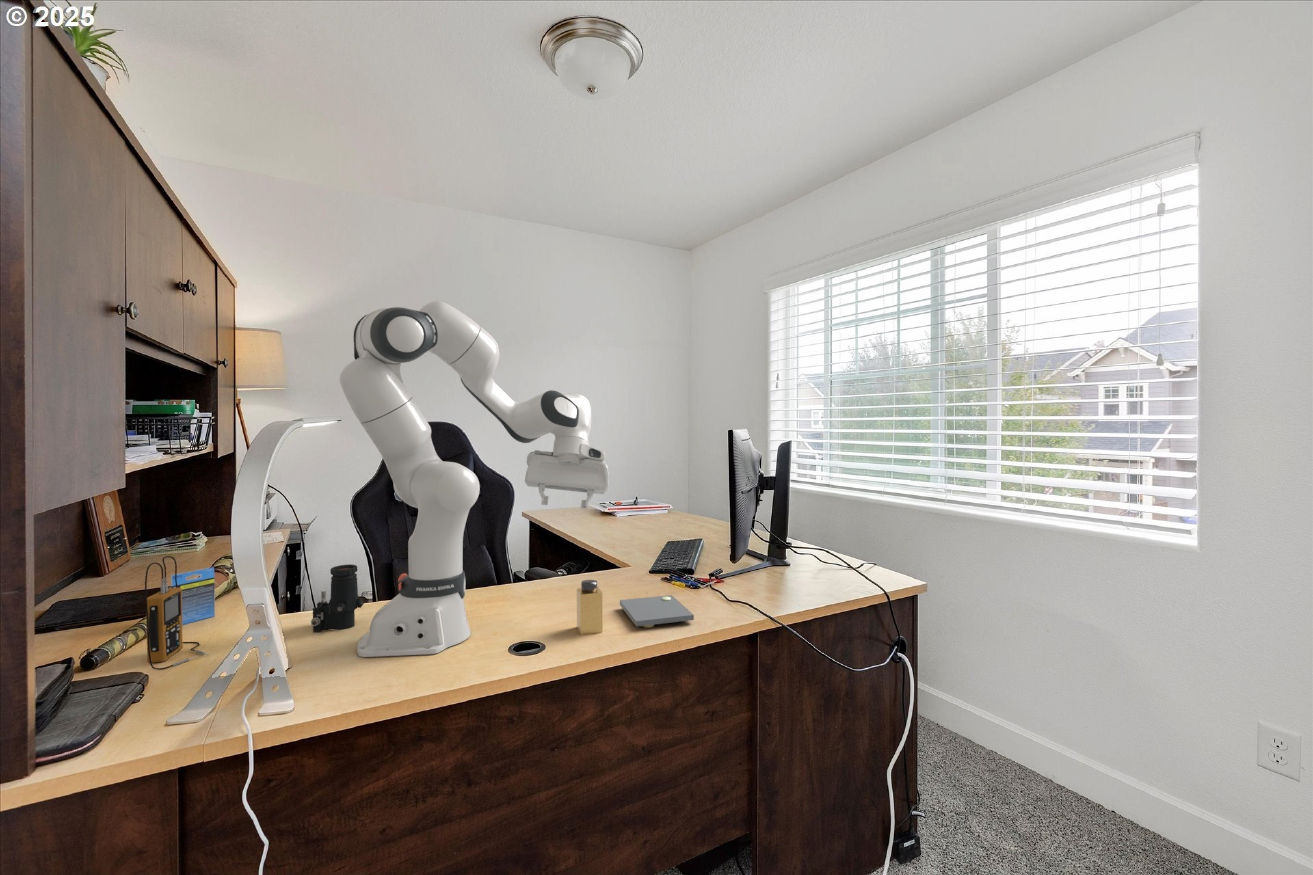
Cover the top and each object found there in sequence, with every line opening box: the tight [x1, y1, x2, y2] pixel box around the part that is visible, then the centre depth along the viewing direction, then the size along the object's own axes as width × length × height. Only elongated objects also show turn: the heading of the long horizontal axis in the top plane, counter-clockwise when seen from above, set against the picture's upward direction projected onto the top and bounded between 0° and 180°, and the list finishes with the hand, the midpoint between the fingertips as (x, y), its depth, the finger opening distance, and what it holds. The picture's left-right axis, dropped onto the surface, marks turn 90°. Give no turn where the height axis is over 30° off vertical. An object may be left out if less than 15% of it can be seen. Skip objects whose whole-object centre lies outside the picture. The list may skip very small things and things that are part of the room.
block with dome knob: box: [576, 579, 604, 635], centre depth 127 cm, size 5×5×11 cm
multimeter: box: [144, 555, 210, 671], centre depth 114 cm, size 15×10×20 cm
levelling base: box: [619, 594, 695, 628], centre depth 136 cm, size 14×16×2 cm
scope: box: [310, 564, 364, 634], centre depth 129 cm, size 8×14×10 cm
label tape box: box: [168, 566, 216, 626], centre depth 133 cm, size 9×4×12 cm, turn 154°
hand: (564, 506), depth 134 cm, fingers open, 8 cm apart
